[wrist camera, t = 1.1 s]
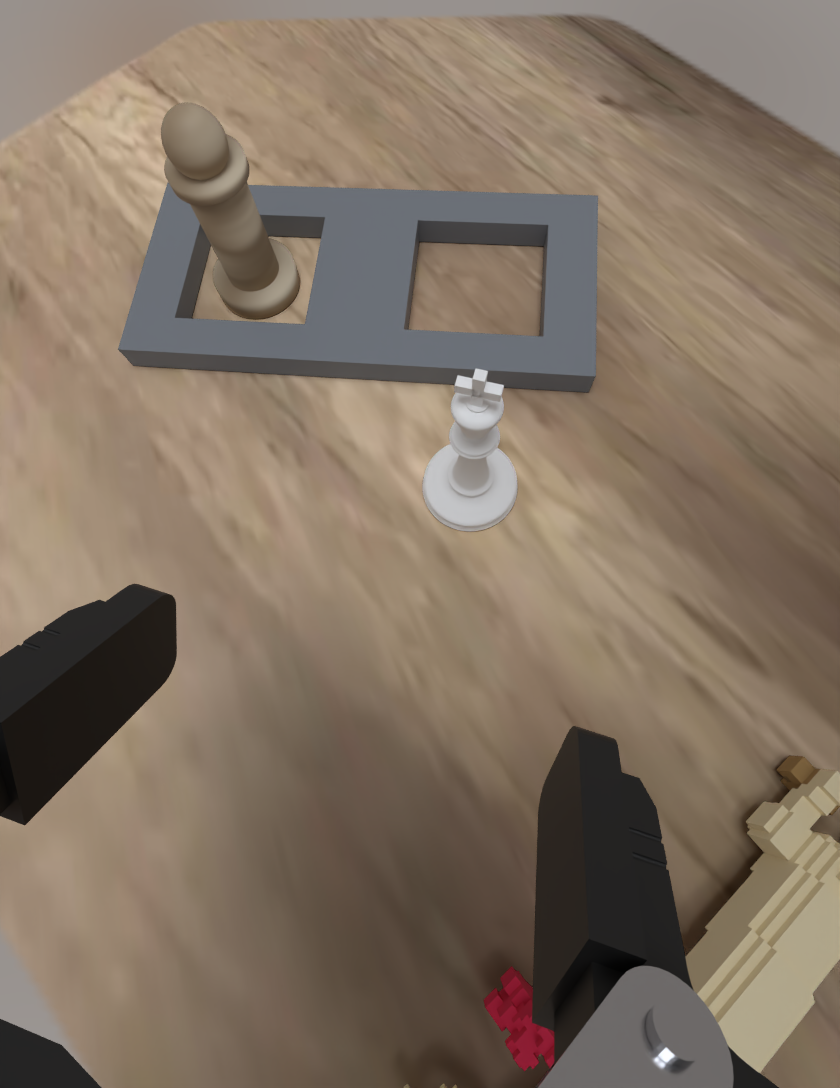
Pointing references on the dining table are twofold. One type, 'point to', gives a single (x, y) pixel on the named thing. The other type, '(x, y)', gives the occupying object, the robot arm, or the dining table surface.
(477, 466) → the chess piece
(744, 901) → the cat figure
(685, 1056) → the robot arm
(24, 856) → the dining table surface
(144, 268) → the grey chess piece holder
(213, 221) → the pawn
